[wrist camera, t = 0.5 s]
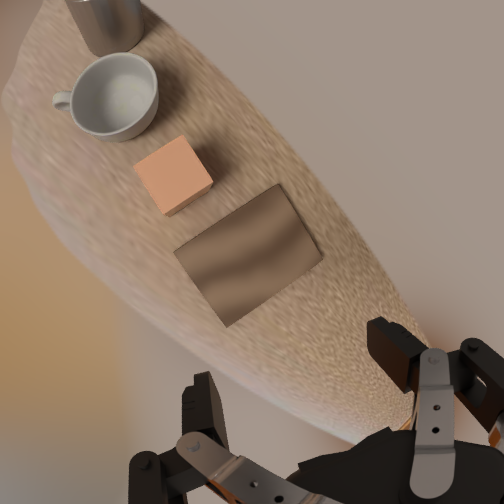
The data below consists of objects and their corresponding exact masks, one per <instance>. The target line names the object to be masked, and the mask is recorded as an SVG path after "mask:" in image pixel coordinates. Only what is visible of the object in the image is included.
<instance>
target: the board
mask: <svg viewBox="0 0 504 504" xmlns="http://www.w3.org/2000/svg"><path fill="white" fill-rule="evenodd" d="M173 253H174V255H175V256H176V258H177V259H178V260H179V262H180V263H181V265H182V266H183V268H184V269H185V271H186V272H187V274H188V275H189V276H190V278H191V279H192V281H193V282H194V284H195V285H196V286H197V288H198V289H199V291H200V292H201V293H202V295H203V296H204V298H205V299H206V300H207V302H208V303H209V305H210V306H211V307H212V309H213V310H214V311H215V313H216V314H217V316H218V317H219V318H220V320H221V321H222V322H223V324H224V325H225V326H226V328H227V327H229V326H230V325H232V324H233V323H235V322H236V321H238V320H239V319H241V318H242V317H243V316H245V315H246V314H248V313H249V312H251V311H252V310H254V309H255V308H257V307H258V306H259V305H261V304H262V303H264V302H265V301H267V300H268V299H269V298H271V297H272V296H274V295H275V294H277V293H278V292H279V291H281V290H282V289H284V288H285V287H286V286H288V285H289V284H291V283H292V282H293V281H295V280H296V279H298V278H299V277H300V276H302V275H303V274H304V273H306V272H307V271H309V270H310V269H311V268H313V267H314V266H315V265H317V264H318V263H319V262H321V261H322V260H323V258H322V256H321V255H320V253H319V251H318V249H317V248H316V246H315V244H314V243H313V241H312V239H311V237H310V236H309V234H308V232H307V231H306V229H305V227H304V226H303V224H302V222H301V221H300V219H299V217H298V216H297V214H296V212H295V211H294V209H293V207H292V206H291V204H290V202H289V201H288V199H287V198H286V196H285V194H284V193H283V191H282V189H281V188H280V186H279V185H278V184H277V185H275V186H273V187H271V188H270V189H268V190H267V191H265V192H264V193H262V194H260V195H259V196H257V197H256V198H254V199H253V200H251V201H249V202H248V203H246V204H245V205H243V206H242V207H240V208H239V209H237V210H236V211H234V212H232V213H231V214H229V215H228V216H226V217H225V218H223V219H222V220H220V221H219V222H217V223H216V224H214V225H213V226H211V227H210V228H208V229H207V230H205V231H204V232H202V233H201V234H199V235H198V236H196V237H195V238H193V239H192V240H190V241H189V242H187V243H186V244H185V245H183V246H182V247H180V248H179V249H177V250H176V251H174V252H173Z"/></svg>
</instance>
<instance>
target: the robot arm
mask: <svg viewBox="0 0 504 504" xmlns="http://www.w3.org/2000/svg"><path fill="white" fill-rule="evenodd" d="M65 2H66V4H67V6H68V8H69V10H70V12H71V14H72V16H73V18H74V20H75V22H76V24H77V26H78V28H79V30H80V32H81V34H82V36H83V38H84V40H85V42H86V44H87V46H88V48H89V50H90V51H91V52H92V53H93V54H94V55H96V56H100V57H104V56H106V55H110V54H114V53H120V52H126V51H128V50H130V49H131V48H133V47H134V46H135V45H136V44H137V43H138V42H139V41H140V39H141V38H142V36H143V33H144V22H143V16H142V10H141V4H140V0H65ZM367 348H368V351H369V354H370V355H371V357H372V358H373V359H374V360H375V361H376V362H377V363H378V365H379V366H380V367H381V368H382V369H383V370H384V371H385V373H386V374H387V375H388V376H389V377H390V378H391V379H392V381H393V382H394V383H395V384H396V385H397V386H398V387H399V389H400V390H401V391H402V392H403V393H404V394H406V393H407V392H409V391H411V390H412V391H413V392H414V396H413V406H412V415H411V423H410V429H409V430H398V431H393V432H392V430H391V429H390V428H389V426H388V427H386V428H384V429H382V430H380V431H378V432H376V433H374V434H372V435H370V436H368V437H366V438H365V439H364V440H362V441H361V442H360V443H358V444H357V445H355V446H354V447H353V448H351V449H350V450H348V451H344V452H339V453H333V454H327V455H321V456H318V457H315V458H313V459H310V460H307V461H304V462H301V463H298V467H299V470H297V471H296V472H294V473H292V474H291V475H290V476H289V477H287V478H286V479H283V478H281V477H279V476H277V475H275V474H273V473H272V472H270V471H268V470H266V469H265V468H263V467H261V466H260V465H258V464H256V463H255V462H253V461H251V460H250V459H248V458H246V457H244V456H241V455H240V456H239V457H237V456H235V455H233V454H232V453H230V451H229V445H228V440H227V434H226V428H225V421H224V415H223V409H222V403H221V399H220V396H219V393H218V391H217V388H216V386H215V383H214V381H213V379H212V376H211V374H210V372H209V371H207V372H203V373H199V374H195V375H194V385H193V386H188V387H186V388H185V390H184V392H183V394H182V437H181V438H180V439H179V440H178V441H177V444H176V447H174V448H173V449H171V450H169V451H167V452H164V453H162V454H160V455H157V454H156V453H154V452H151V451H143V452H139V453H137V454H136V455H135V456H134V457H133V458H132V459H131V461H130V464H129V490H128V504H188V501H187V494H186V492H189V491H191V490H194V489H196V488H198V487H200V486H203V485H205V486H206V487H208V488H209V489H210V490H212V491H213V492H214V493H215V494H217V495H218V496H219V497H220V498H222V499H223V500H224V501H226V502H227V503H228V504H504V358H502V357H501V356H500V355H499V354H498V353H496V352H495V351H494V350H493V349H491V348H490V347H489V346H488V345H487V344H485V343H484V342H483V341H482V340H480V339H477V338H468V339H465V340H464V341H463V342H462V343H461V346H460V349H459V350H456V351H452V352H449V353H446V352H445V351H444V350H442V349H439V348H430V349H429V348H428V347H427V346H426V345H424V344H423V343H422V342H421V341H420V340H419V339H417V338H416V337H415V336H414V335H412V334H411V333H410V332H409V331H407V329H406V328H404V327H403V326H402V325H400V324H397V323H395V322H391V323H389V322H388V321H387V320H386V319H384V318H383V317H382V316H380V317H378V318H375V319H373V320H370V321H368V322H367ZM477 376H478V377H479V378H480V379H481V380H482V381H483V382H484V383H485V384H486V386H485V385H484V384H483V383H482V382H480V381H479V380H478V379H477ZM454 394H455V395H456V397H457V398H458V399H459V400H460V401H461V402H462V403H463V404H464V405H465V407H466V408H467V409H468V410H469V411H470V412H471V414H472V415H473V416H474V417H475V418H476V419H477V420H478V422H479V423H480V424H481V425H482V426H483V427H484V429H485V430H486V431H487V432H488V433H489V436H488V441H489V443H490V446H486V445H479V444H474V443H468V442H463V441H458V440H454Z"/></svg>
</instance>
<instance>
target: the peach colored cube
mask: <svg viewBox="0 0 504 504" xmlns="http://www.w3.org/2000/svg"><path fill="white" fill-rule="evenodd" d="M133 167H134V169H135V170H136V172H137V173H138V175H139V177H140V178H141V180H142V182H143V183H144V185H145V186H146V188H147V190H148V191H149V193H150V194H151V196H152V198H153V199H154V201H155V202H156V204H157V205H158V207H159V209H160V210H161V212H162V213H163V215H165V216H168V217H170V216H172V215H173V214H175V213H176V212H178V211H179V210H181V209H182V208H184V207H185V206H187V205H188V204H190V203H191V202H193V201H194V200H196V199H197V198H199V197H201V196H202V195H204V194H205V193H207V192H208V191H209V190H210V188H211V186H212V184H213V180H212V179H211V177H210V175H209V174H208V172H207V171H206V169H205V168H204V166H203V165H202V163H201V162H200V160H199V159H198V157H197V156H196V154H195V152H194V151H193V149H192V148H191V146H190V145H189V143H188V142H187V140H186V139H185V137H184V136H183V135H181V136H179V137H178V138H176V139H174V140H173V141H171V142H170V143H168V144H166V145H165V146H163V147H162V148H160V149H158V150H157V151H155V152H154V153H152V154H151V155H149V156H148V157H146V158H145V159H143V160H142V161H140V162H139V163H137V164H136V165H134V166H133Z"/></svg>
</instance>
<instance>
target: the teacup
mask: <svg viewBox="0 0 504 504" xmlns="http://www.w3.org/2000/svg"><path fill="white" fill-rule="evenodd" d="M158 103H159V93H158V80H157V75H156V73H155V70H154V69H153V67H152V66H151V64H150V63H149V62H148V61H147V60H146V59H144V58H143V57H141V56H139V55H136V54H133V53H126V52H120V53H114V54H110V55H106V56H104V57H101V58H99V59H98V60H96V61H94V62H93V63H91V64H90V65H89V66H88V67H87V68H86V69H85V70H84V71H83V72H82V73H81V74H80V76H79V77H78V79H77V81H76V83H75V85H74V87H73V89H72V91H60V92H57V93H56V94H55V95H54V97H53V101H52V104H53V106H54V108H56V109H58V110H62V111H68V112H71V115H72V117H73V120H74V121H75V123H76V124H77V126H78V127H79V128H81V129H82V130H83V131H85V132H86V133H89V134H90V135H92V136H94V137H95V138H97V139H100V140H102V141H106V142H123V141H127V140H129V139H132V138H134V137H136V136H137V135H139V134H140V133H141V132H143V131H144V130H145V129H146V128H147V127H148V126H149V124H150V123H151V122H152V120H153V118H154V116H155V114H156V111H157V108H158Z"/></svg>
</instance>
